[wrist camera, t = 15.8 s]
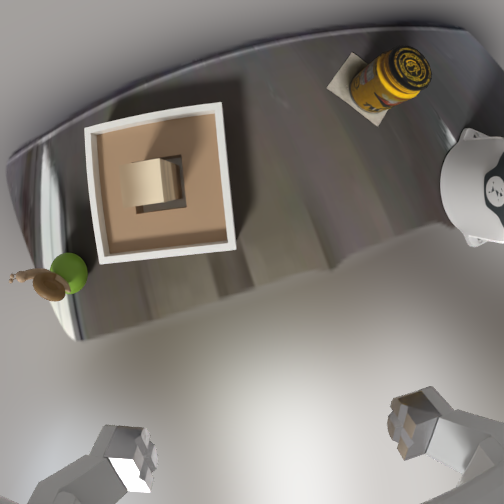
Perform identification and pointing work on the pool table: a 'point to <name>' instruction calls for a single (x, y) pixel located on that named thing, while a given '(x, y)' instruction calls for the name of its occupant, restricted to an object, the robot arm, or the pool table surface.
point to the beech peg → (149, 182)
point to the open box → (171, 212)
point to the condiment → (381, 81)
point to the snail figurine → (57, 277)
